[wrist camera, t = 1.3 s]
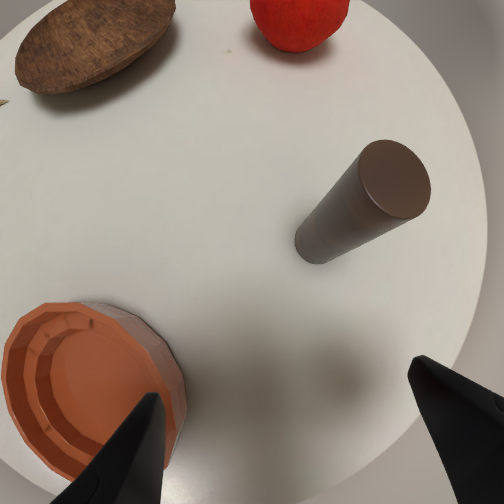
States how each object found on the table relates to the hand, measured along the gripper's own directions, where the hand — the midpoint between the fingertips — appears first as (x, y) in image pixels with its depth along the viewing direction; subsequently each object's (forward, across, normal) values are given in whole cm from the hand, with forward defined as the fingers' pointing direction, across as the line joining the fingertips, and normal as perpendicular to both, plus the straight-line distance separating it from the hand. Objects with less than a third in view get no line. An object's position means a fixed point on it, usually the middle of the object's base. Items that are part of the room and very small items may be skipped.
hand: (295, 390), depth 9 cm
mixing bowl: (+9, +13, +10) cm, 19 cm away
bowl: (+29, +16, -21) cm, 39 cm away
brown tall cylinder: (+15, -5, +1) cm, 16 cm away
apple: (+28, -6, -19) cm, 34 cm away
